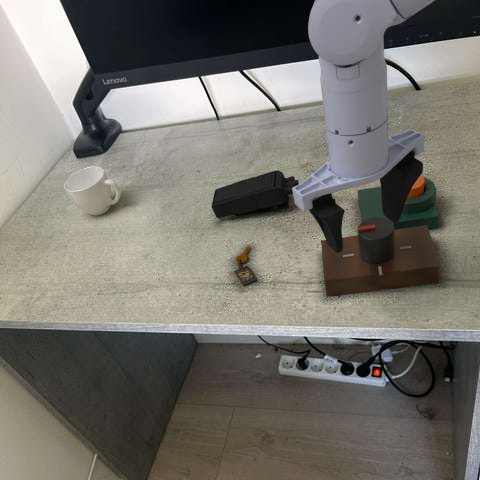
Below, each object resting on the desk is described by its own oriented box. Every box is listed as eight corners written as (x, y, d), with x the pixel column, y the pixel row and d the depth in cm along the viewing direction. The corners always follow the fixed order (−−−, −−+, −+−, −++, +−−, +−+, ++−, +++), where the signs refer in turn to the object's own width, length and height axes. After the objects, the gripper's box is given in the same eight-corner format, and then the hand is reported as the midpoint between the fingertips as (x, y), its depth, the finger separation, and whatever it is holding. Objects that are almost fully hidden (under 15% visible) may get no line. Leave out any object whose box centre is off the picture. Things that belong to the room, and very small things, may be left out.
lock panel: (425, 240, 67) (426, 222, 65) (439, 284, 61) (440, 266, 59) (323, 255, 70) (320, 238, 68) (326, 298, 64) (324, 281, 62)
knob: (391, 238, 64) (391, 212, 61) (396, 261, 62) (396, 234, 58) (357, 243, 65) (355, 217, 62) (361, 265, 62) (359, 240, 59)
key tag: (257, 282, 69) (256, 279, 69) (237, 287, 70) (236, 284, 69) (249, 246, 75) (248, 243, 74) (231, 251, 75) (230, 248, 75)
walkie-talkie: (218, 188, 84) (334, 160, 78) (224, 224, 84) (340, 199, 78) (205, 182, 78) (329, 151, 72) (211, 220, 78) (336, 193, 72)
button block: (427, 190, 74) (428, 167, 71) (439, 228, 68) (441, 204, 65) (358, 201, 76) (356, 179, 73) (364, 239, 70) (363, 216, 67)
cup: (91, 197, 97) (74, 168, 92) (135, 194, 94) (121, 163, 89) (74, 222, 92) (56, 192, 87) (120, 220, 89) (104, 188, 84)
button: (421, 182, 70) (422, 171, 68) (426, 197, 67) (426, 186, 66) (395, 186, 71) (395, 176, 69) (399, 201, 68) (399, 190, 67)
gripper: (393, 77, 49) (394, 190, 59) (269, 136, 48) (291, 243, 57) (442, 98, 45) (434, 217, 55) (306, 165, 43) (323, 275, 53)
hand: (363, 232), depth 56 cm, fingers open, 7 cm apart
